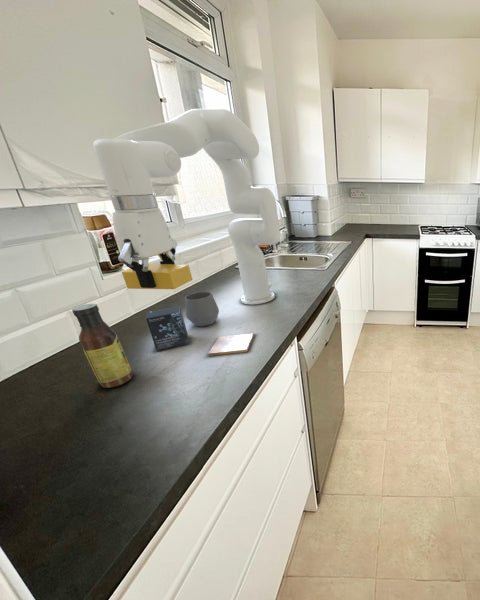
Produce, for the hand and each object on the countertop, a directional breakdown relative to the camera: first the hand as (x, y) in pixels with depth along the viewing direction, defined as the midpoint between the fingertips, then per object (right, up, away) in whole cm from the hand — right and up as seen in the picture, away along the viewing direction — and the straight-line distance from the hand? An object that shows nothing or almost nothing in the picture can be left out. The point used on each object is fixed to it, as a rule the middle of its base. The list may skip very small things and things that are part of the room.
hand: (160, 281), depth 74 cm
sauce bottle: (-12, -24, +2) cm, 27 cm away
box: (-10, -18, +19) cm, 28 cm away
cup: (-9, -12, +32) cm, 35 cm away
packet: (0, -1, 0) cm, 1 cm away
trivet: (+8, -18, +18) cm, 26 cm away
